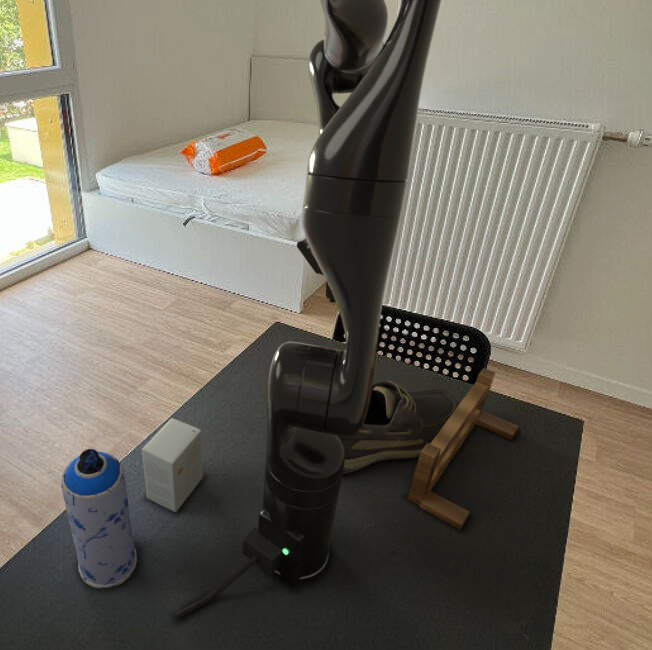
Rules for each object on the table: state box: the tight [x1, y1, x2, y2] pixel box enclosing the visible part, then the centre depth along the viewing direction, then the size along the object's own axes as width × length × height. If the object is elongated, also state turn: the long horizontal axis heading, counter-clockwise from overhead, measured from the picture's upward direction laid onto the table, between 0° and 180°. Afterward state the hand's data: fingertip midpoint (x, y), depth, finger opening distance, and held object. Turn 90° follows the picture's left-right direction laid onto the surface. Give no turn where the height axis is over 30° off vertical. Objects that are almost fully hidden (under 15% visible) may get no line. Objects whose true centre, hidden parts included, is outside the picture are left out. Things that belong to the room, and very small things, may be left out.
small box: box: [140, 417, 204, 513], centre depth 80 cm, size 8×6×10 cm
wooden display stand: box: [407, 367, 519, 531], centre depth 84 cm, size 27×8×10 cm, turn 138°
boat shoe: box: [338, 380, 459, 475], centre depth 88 cm, size 11×29×11 cm, turn 115°
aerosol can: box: [60, 448, 138, 590], centre depth 67 cm, size 8×8×20 cm
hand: (335, 301), depth 83 cm, fingers closed
